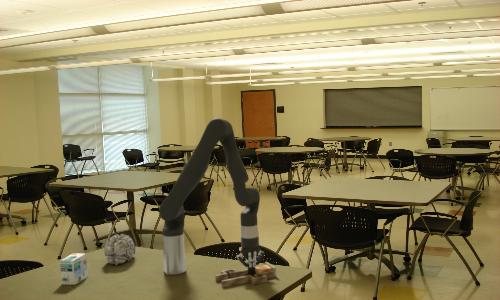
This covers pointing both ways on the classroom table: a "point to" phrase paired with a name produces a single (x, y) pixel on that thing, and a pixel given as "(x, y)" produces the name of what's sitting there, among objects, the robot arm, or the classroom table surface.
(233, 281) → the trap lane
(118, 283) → the classroom table surface
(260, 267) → the block
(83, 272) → the light bulb box
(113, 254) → the educational model
